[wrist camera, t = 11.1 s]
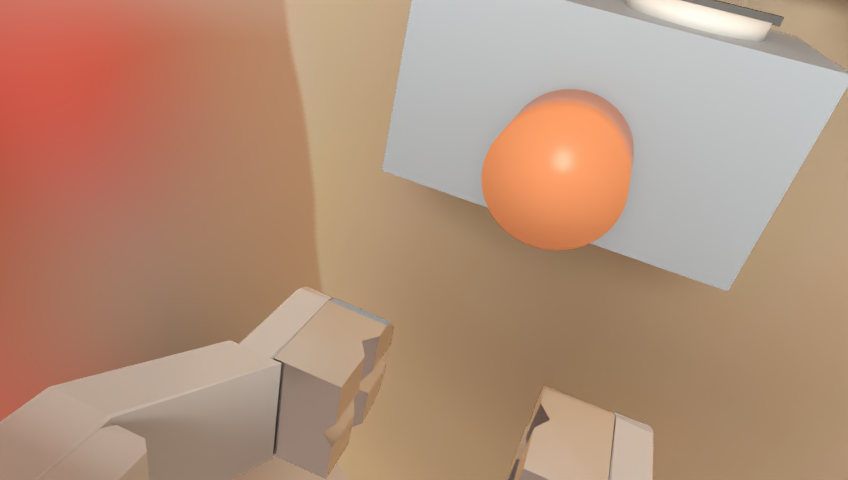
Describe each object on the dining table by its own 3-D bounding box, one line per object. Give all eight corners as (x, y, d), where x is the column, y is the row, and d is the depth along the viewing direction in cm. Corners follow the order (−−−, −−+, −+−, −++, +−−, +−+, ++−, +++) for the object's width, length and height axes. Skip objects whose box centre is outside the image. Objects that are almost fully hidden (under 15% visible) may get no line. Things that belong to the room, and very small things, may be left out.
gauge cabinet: (806, 15, 24) (871, 46, 16) (711, 200, 28) (727, 291, 21) (490, -62, 27) (422, -66, 19) (449, 117, 31) (381, 170, 24)
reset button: (655, 111, 17) (653, 139, 14) (606, 226, 19) (597, 269, 16) (525, 72, 18) (502, 94, 15) (492, 187, 20) (467, 222, 17)
